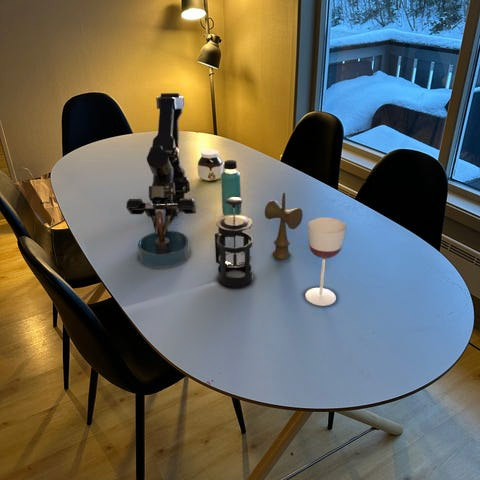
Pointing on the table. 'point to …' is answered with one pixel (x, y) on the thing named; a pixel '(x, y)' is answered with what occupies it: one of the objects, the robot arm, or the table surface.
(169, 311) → the table surface
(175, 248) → the dish
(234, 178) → the beverage bottle
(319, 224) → the wineglass
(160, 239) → the peg on round base
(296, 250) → the table surface
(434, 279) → the table surface
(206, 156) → the spread jar
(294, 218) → the kendama
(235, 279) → the french press
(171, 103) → the robot arm
